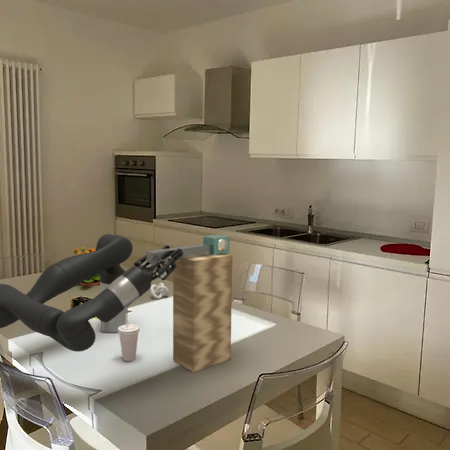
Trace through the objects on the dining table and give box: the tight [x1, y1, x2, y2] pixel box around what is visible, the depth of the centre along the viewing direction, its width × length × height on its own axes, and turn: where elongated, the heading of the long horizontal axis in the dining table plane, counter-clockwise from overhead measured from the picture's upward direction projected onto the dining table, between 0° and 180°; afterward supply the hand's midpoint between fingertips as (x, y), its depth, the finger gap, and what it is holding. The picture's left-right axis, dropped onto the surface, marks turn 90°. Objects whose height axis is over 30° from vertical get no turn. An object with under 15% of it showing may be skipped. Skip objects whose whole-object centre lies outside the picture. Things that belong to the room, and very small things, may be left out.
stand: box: [172, 253, 233, 373], centre depth 140 cm, size 14×10×32 cm
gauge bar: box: [146, 234, 231, 264], centre depth 134 cm, size 26×6×5 cm, turn 131°
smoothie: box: [117, 313, 141, 362], centre depth 141 cm, size 6×6×14 cm
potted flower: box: [59, 246, 100, 287], centre depth 224 cm, size 25×24×18 cm
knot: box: [149, 282, 170, 300], centre depth 205 cm, size 8×8×6 cm
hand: (175, 249), depth 131 cm, fingers open, 5 cm apart
